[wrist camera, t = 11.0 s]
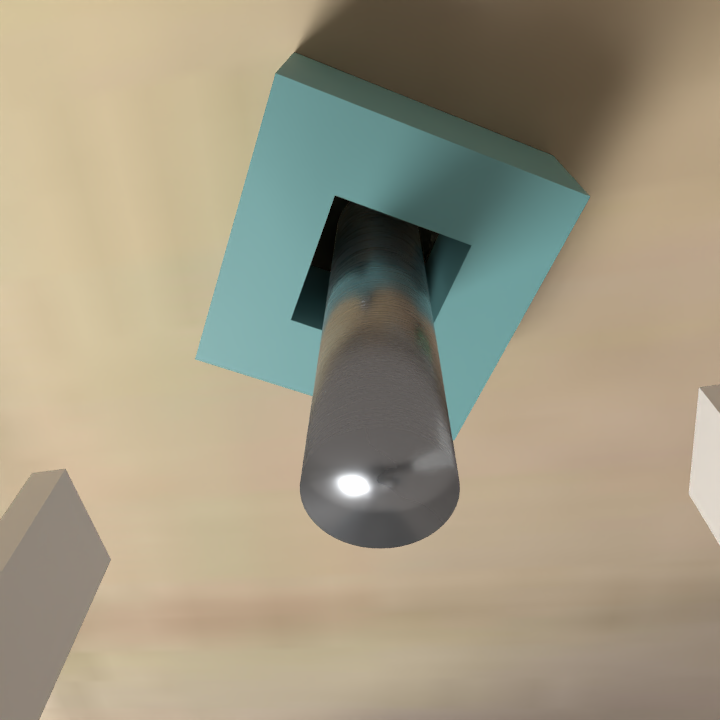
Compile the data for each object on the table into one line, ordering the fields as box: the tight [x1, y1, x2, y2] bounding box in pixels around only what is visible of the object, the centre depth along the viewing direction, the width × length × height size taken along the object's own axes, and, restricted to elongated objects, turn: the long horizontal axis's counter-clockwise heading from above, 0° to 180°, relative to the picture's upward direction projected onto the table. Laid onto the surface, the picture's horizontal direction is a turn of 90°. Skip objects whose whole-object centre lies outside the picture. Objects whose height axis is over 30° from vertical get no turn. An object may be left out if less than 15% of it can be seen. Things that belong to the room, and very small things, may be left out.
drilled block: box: [195, 52, 590, 440], centre depth 24 cm, size 10×10×5 cm
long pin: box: [300, 201, 460, 548], centre depth 20 cm, size 3×3×15 cm
